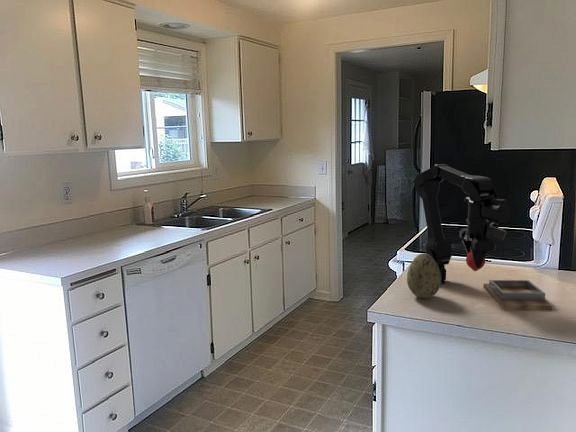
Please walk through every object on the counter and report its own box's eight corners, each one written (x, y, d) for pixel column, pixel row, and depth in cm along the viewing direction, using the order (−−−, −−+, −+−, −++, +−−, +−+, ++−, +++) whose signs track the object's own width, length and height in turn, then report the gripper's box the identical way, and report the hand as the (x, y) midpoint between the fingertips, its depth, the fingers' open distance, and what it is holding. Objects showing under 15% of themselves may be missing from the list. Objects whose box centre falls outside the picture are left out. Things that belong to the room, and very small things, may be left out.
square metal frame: (502, 300, 146) (502, 293, 145) (489, 287, 158) (489, 280, 157) (544, 301, 144) (545, 293, 144) (528, 287, 157) (528, 280, 156)
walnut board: (503, 309, 142) (503, 305, 142) (483, 287, 162) (483, 283, 162) (552, 310, 141) (552, 305, 141) (525, 287, 160) (525, 283, 160)
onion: (469, 267, 155) (470, 243, 153) (487, 270, 151) (488, 246, 150) (462, 271, 150) (463, 247, 149) (481, 274, 147) (482, 250, 145)
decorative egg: (401, 299, 153) (402, 255, 150) (413, 289, 162) (414, 247, 159) (434, 306, 147) (435, 259, 144) (444, 295, 156) (446, 251, 153)
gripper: (515, 223, 138) (512, 273, 141) (494, 211, 156) (491, 256, 159) (476, 223, 139) (473, 273, 142) (459, 212, 157) (458, 256, 160)
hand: (475, 264), depth 150 cm, fingers closed on onion, 6 cm apart
